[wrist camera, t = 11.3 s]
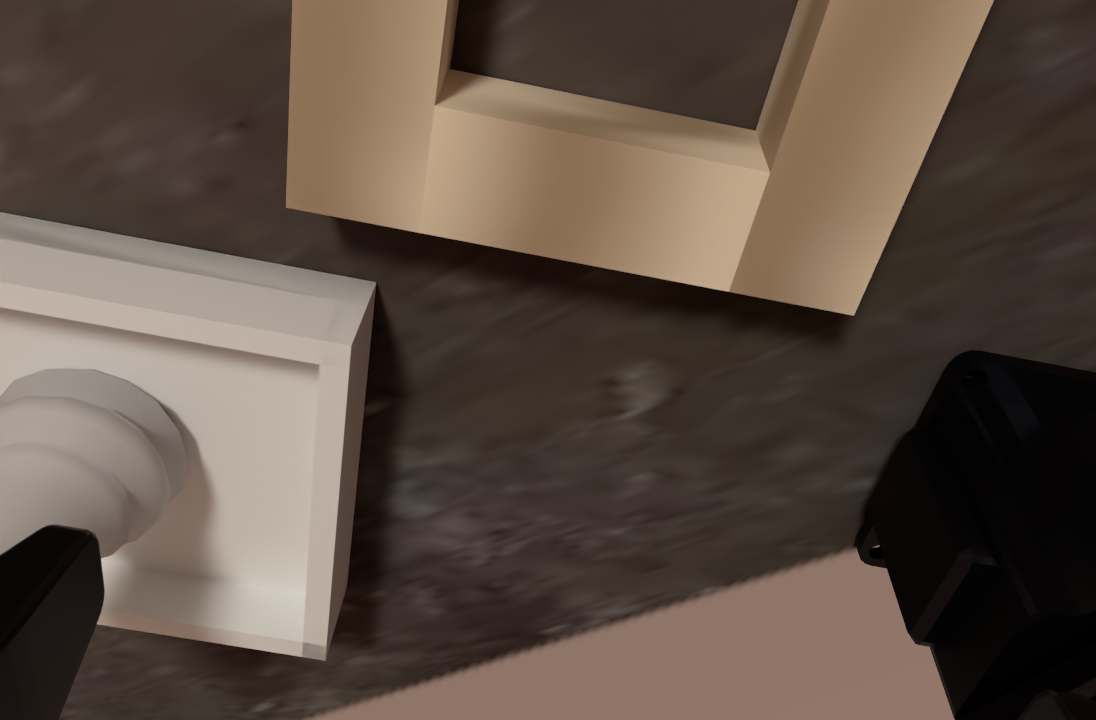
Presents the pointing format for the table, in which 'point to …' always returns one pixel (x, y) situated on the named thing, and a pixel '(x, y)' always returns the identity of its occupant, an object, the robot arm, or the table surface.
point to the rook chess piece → (85, 457)
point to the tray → (212, 420)
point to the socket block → (630, 148)
